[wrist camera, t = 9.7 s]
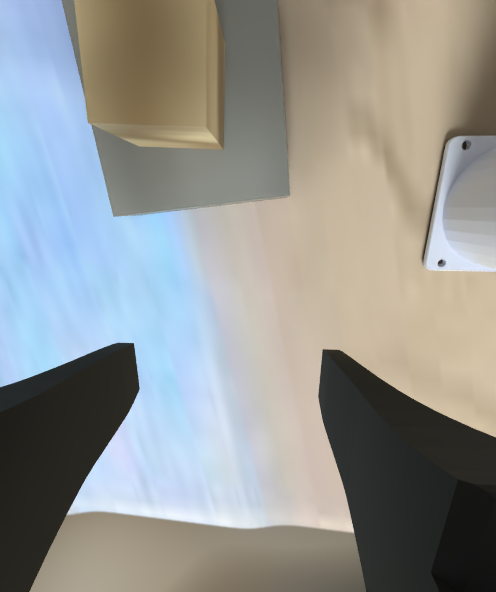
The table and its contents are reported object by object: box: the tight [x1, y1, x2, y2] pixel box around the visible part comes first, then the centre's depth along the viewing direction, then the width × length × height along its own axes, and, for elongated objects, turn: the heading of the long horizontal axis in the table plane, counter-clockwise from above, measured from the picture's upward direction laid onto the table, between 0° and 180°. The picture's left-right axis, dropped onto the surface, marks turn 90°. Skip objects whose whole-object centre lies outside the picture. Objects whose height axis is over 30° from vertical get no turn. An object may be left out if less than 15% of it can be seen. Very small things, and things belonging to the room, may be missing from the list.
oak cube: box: [74, 0, 225, 150], centre depth 12 cm, size 4×4×4 cm
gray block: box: [62, 0, 290, 216], centre depth 16 cm, size 10×10×4 cm
